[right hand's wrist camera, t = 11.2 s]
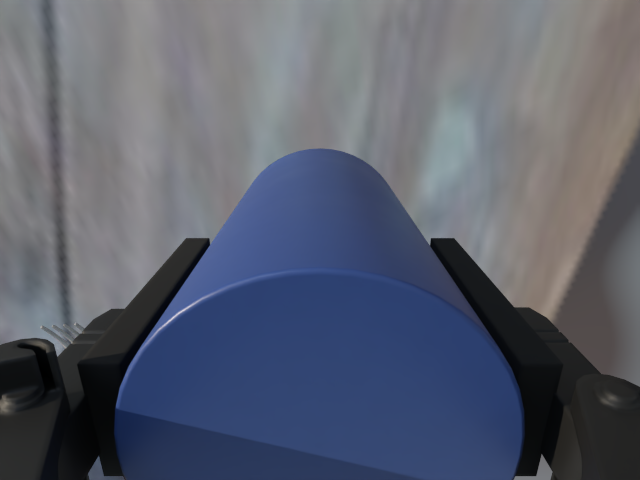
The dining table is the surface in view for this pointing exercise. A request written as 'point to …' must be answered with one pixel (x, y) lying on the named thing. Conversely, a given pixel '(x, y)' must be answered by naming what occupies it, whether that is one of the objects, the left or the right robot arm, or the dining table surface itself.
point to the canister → (319, 348)
